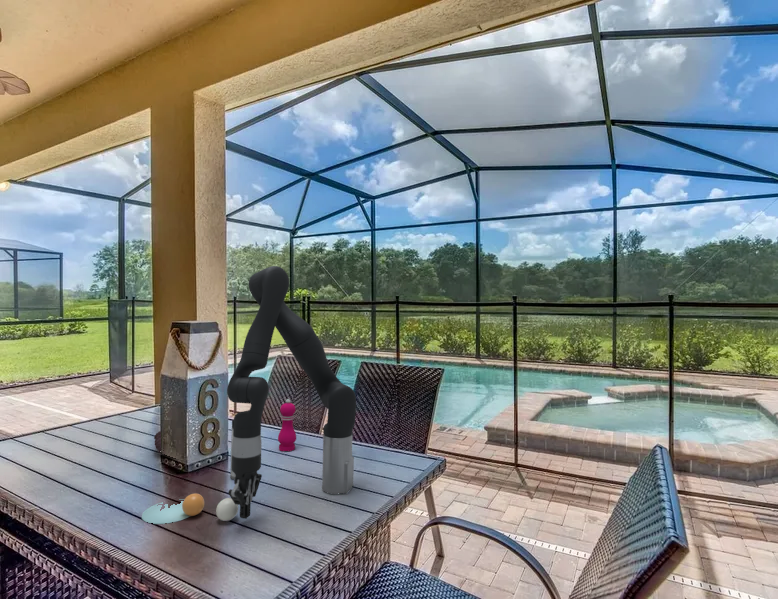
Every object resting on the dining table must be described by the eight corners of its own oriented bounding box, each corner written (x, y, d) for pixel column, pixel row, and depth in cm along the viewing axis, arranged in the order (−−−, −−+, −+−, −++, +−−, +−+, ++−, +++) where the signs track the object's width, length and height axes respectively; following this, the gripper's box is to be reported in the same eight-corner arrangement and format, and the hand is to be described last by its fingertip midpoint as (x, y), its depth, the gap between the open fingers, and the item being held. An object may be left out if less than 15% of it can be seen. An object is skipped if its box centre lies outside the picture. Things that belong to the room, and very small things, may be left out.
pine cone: (144, 452, 169) (145, 426, 169) (170, 445, 177) (171, 421, 177) (167, 463, 158) (167, 435, 158) (193, 455, 166) (194, 429, 166)
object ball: (207, 489, 123) (190, 490, 124) (194, 498, 117) (176, 498, 119) (209, 510, 122) (192, 510, 124) (196, 519, 117) (178, 519, 118)
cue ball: (229, 490, 121) (220, 507, 122) (217, 499, 116) (208, 517, 116) (245, 501, 120) (236, 519, 121) (234, 511, 115) (225, 529, 115)
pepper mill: (280, 453, 171) (281, 401, 171) (275, 447, 178) (276, 398, 178) (298, 450, 174) (299, 400, 175) (293, 445, 181) (294, 396, 181)
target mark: (208, 503, 127) (208, 502, 127) (174, 527, 114) (174, 526, 114) (167, 497, 131) (167, 497, 131) (129, 520, 117) (129, 519, 117)
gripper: (245, 461, 110) (244, 531, 110) (271, 445, 123) (270, 507, 122) (219, 458, 111) (217, 527, 111) (247, 442, 124) (245, 504, 124)
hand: (245, 516), depth 117 cm, fingers closed
